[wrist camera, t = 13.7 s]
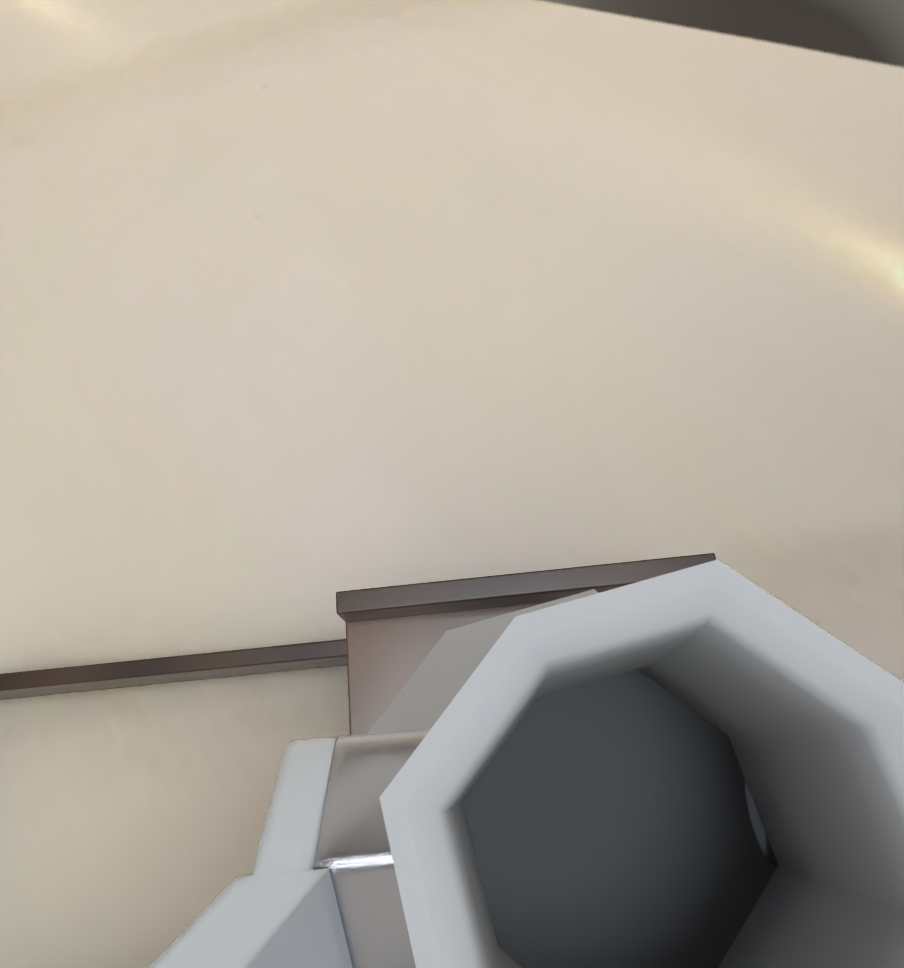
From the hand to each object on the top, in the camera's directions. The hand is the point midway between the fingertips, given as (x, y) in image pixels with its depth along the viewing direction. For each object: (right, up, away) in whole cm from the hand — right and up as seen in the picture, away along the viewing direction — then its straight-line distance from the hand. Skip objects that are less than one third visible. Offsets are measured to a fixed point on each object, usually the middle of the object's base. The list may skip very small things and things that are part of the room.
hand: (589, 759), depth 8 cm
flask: (+1, -3, +5) cm, 6 cm away
